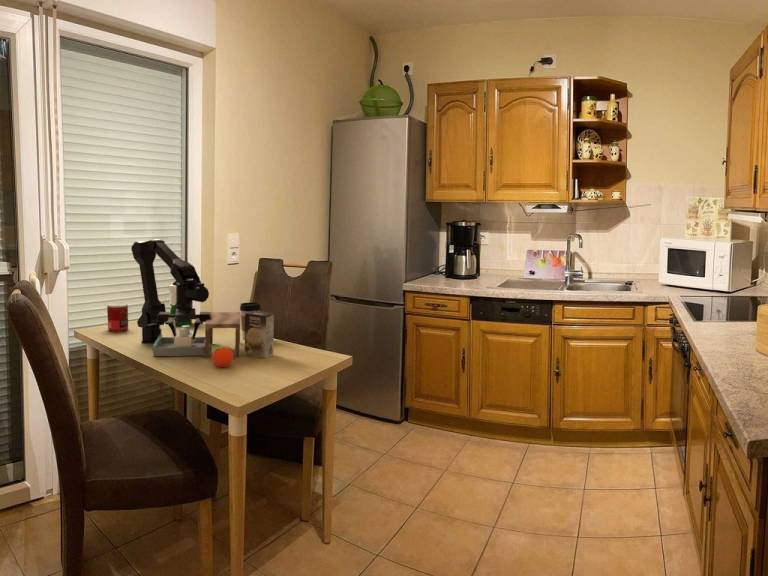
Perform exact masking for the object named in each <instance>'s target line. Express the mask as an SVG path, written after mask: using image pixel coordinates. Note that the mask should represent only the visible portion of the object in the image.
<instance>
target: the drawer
mask: <svg viewBox="0 0 768 576" xmlns="http://www.w3.org/2000/svg"><path fill="white" fill-rule="evenodd" d="M152 350H153V351H152V354H153V357H181V356H205V336H195V341H194V343H193V344H192V346H191V347H174V336H165V337H164V336H163V334H162V335H159V336H158V338H157V340H156V341H155V343H153V346H152Z"/></svg>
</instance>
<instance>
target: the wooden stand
mask: <svg viewBox="0 0 768 576" xmlns="http://www.w3.org/2000/svg"><path fill="white" fill-rule="evenodd" d="M209 312H210V313H211V319H210V320H206V322H204V325H205V326H204V329H205V330H204V331H205V333H204V337H205V355H204V356H205V359H210V358H211V353H210V352H211V345H213V344H214V339H213V337H214V334H213V333H214V331H213V330H214V329H234V330H235V333H234V334H235V336H234V338H235V340H234V341H235V348H234V350H235V351H234V352H235V354H234V356H235V357H234V358H240V350H241V349H240V348H241V347H240V344H241V311H240V312H239V311H237V312H236V311H234V312H233V311H231V312H229V311H228V312H226V311H225V312H223V311H219V312H217V311H214V312H213V311H209Z"/></svg>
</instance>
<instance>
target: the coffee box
mask: <svg viewBox="0 0 768 576" xmlns="http://www.w3.org/2000/svg"><path fill="white" fill-rule="evenodd" d="M274 323H275V313H273V312H267V311H261V310H260V311H251V312H248V313H245V340H244V356H247V357H248V356H249V357H253V358H258V359H259V358H260V359H267V358H269V357H271V356H273V355H274V331H275V330H274V329H275V328H274V326H275V325H274ZM272 354H273V355H272ZM270 355H271V356H270ZM268 356H269V357H268ZM266 357H267V358H266Z"/></svg>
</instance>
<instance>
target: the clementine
mask: <svg viewBox="0 0 768 576" xmlns="http://www.w3.org/2000/svg"><path fill="white" fill-rule="evenodd" d="M212 352H213V354H212V362H213V364H214V365H215V366H217V367H219V368H226V367H229V366H230V365H231V363H232V362H233V360H234V354H233V351H232V350H231V349H230V348H229V347H228V346H221V347H216V348H213V349H212V350H210V354H211V353H212Z"/></svg>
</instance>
